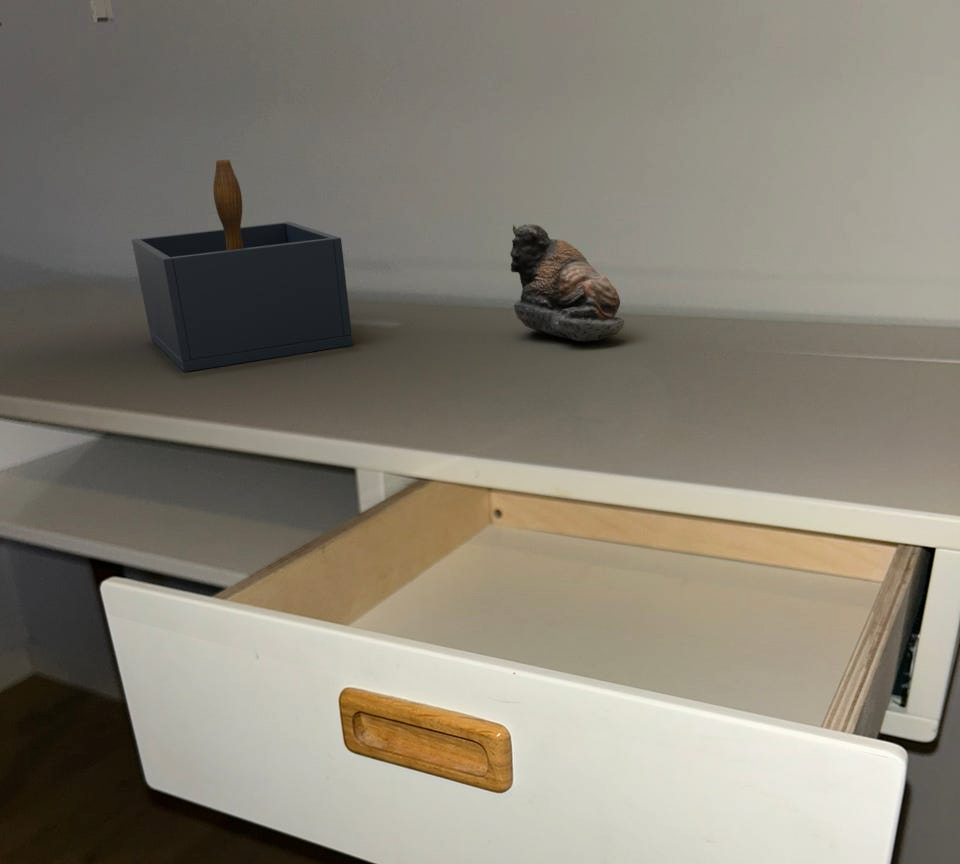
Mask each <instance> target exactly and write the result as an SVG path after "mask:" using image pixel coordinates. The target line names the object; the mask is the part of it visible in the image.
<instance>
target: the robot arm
mask: <svg viewBox="0 0 960 864" xmlns="http://www.w3.org/2000/svg"><path fill="white" fill-rule="evenodd" d="M89 2H90V7H91V10H92V11H93V13H92V17H93V21H94V23H95V24H101V23H102V24H103V23H113V22H114V13H113V7H112V2H111V0H90V1H89ZM2 26H3V25H2V19H1V18H0V28H1V27H2Z"/></svg>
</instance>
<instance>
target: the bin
mask: <svg viewBox="0 0 960 864" xmlns="http://www.w3.org/2000/svg"><path fill="white" fill-rule="evenodd" d="M241 238H242V244H243V249H235V250H227V249H226V239H225V232H224V229H223V228H221V229H220V228H219V229H213V230H206V231H205V230H204V231H195V232H194V231H193V232H186V233H177V234H167V235H159V236H150V237H142V238H133V239H131V244H132V249H133V254H134V259H135V265H136V270H137V274H138V279H139V284H140V290H141V294H142V299H143V305H144V309H145V315H146V319H147V320H146V321H147V324H148V329H149V335H150V339H151V341H152V342H153V343H154V344H155V345H156V346H158V348H159V349H160V350H162V352H164V354H165V355H167V356H168V358H170V360H171V361H173V362H174V364H176V365H177V366H178V367H179V368H180V369H181V371H183V372H184V373H188V372H194V371H200V370H205V369H206V370H207V369H213V368H219V367H225V366H232V365H237V364H244V363H249V362H250V363H251V362H257V361H262V360H269V359H274V358H275V359H276V358H281V357H289V356H294V355H301V354H306V353H313V352H320V351H326V350H332V349H339V348H344V347H351V346H353V345H354V343H353V335H352V334H353V333H352V332H353V331H352V324H351V315H350V306H349V298H348V289H347V287H348V286H347V279H346V270H345V262H344V253H343V252H344V251H343V242H342V238H341V237H339V236H336V235H333V234H331V233H330V234H329V233H326V232H323V231H320V230H317V229H314V228H311V227H308V226H305V225H303V224H302V225H301V224H298V223H296V222H292V221H284V222H282V221H281V222H274V223H266V224H256V225H246V226H241Z"/></svg>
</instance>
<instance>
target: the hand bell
mask: <svg viewBox="0 0 960 864" xmlns="http://www.w3.org/2000/svg"><path fill="white" fill-rule="evenodd" d="M213 177H214V178H213V187H212V189H213V199H214V205H215V210H216V213H217V216H218V219H219V221H220V222H221V225H222V229H224V232H225V239H226V249H227V250H235V249H243V244H242V238H241V227H242V219H243V218H242V217H243V197H242V190H241V186H240V183H239V180H238V178H237V176H236V174H235V171H234V169H233V167H232V163H231V160H230V159H218V160H216V162H215V172H214V176H213Z"/></svg>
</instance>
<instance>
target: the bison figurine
mask: <svg viewBox="0 0 960 864" xmlns="http://www.w3.org/2000/svg"><path fill="white" fill-rule="evenodd" d="M512 232H513V235H514V238H513V239H512V240H511V243H512V248H511V250H510V252H509V253H510V254H509V255H510V257H511V263H510V271H511V273H516V274H517V273H518V275H519V280H520V284H521V287H522V289H521V294H520V299H519V300H518V301H516V302H515V303H514V304H513V309H514V311H515V315H516V317H517V319H518V320H520V321H521V322H522V324H523V325H524V326H526V327H527V328H529V329H532V330H535V331H539V332H541V333H544V334H547V335H551V336H554V337H559V338H562V339H566V340H567V339H568V340H572V341H576V342H581V343H583V342H584V343H590V342H598V341H602V340H604V339H606V338H610V337H612V336H615V335H617V334H618V333H619V332H620V331H621V330H622V329H623V328H624V325H625V320H624V319H623V318H621V317H619V316H616V315H617V313H618V312H619V308H620V306H621V298H620V295H619V294H618V291H617V289H616V288H615V286H614V285H613V284H612V283H611V281H610V279H609V278H608V277H607V276H606V275H600V273H599V272H598V271H597V270H596V269H595V268H594V267H593V266H592V265H591V264H590V263H589V262H588V260H587V258H586V257H585V256H584V255H583V253H582V252H581V251H580V250H579V249H578V248H577V247H575V246H573V245H572V244H570V243H569V242H567V241H566V240H563V239H561V238H557V239H555V238H550V237H549V234H548V232H547V231H546V230H545V229H544V228H543V227H542V226H540V225H538V224H531V223H530V224H523V225H521V226H518V227H516V225H515V224H513V225H512Z"/></svg>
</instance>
